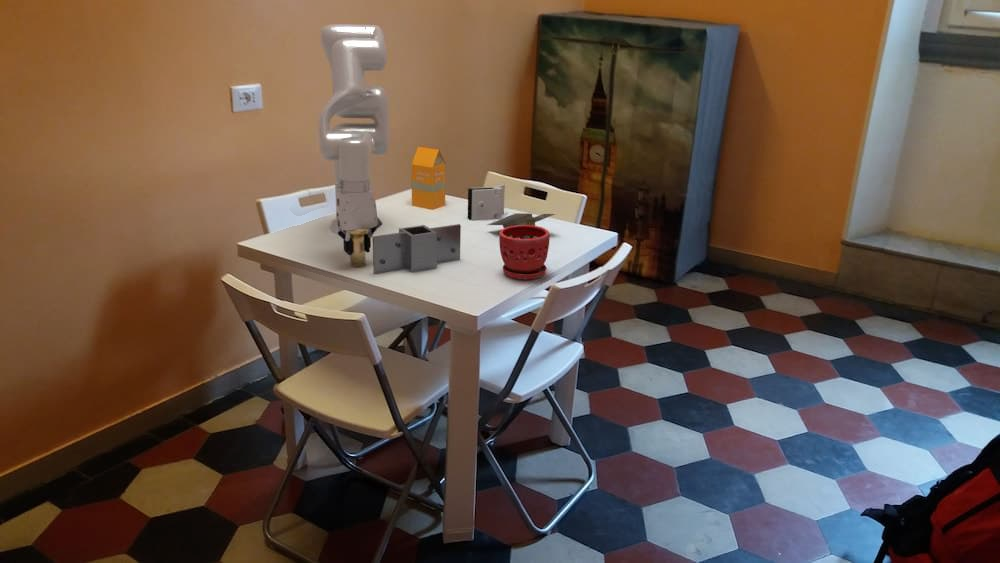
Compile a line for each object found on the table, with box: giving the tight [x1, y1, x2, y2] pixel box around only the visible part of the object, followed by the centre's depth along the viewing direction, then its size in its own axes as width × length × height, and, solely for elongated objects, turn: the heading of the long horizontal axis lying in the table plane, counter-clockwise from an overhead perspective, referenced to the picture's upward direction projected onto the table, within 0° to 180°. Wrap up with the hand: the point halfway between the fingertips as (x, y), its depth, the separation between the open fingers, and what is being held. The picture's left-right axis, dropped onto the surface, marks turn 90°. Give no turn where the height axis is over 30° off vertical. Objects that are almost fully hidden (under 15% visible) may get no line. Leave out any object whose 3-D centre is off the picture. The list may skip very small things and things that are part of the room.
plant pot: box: [498, 225, 550, 281], centre depth 206 cm, size 13×13×12 cm
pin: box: [344, 228, 369, 268], centre depth 209 cm, size 7×7×11 cm
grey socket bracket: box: [372, 223, 462, 275], centre depth 209 cm, size 8×26×10 cm, turn 122°
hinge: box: [467, 184, 506, 221], centre depth 255 cm, size 14×5×10 cm, turn 119°
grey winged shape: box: [487, 212, 556, 237], centre depth 239 cm, size 16×9×15 cm
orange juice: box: [410, 145, 447, 211], centre depth 264 cm, size 8×9×20 cm
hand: (357, 251), depth 209 cm, fingers open, 4 cm apart
